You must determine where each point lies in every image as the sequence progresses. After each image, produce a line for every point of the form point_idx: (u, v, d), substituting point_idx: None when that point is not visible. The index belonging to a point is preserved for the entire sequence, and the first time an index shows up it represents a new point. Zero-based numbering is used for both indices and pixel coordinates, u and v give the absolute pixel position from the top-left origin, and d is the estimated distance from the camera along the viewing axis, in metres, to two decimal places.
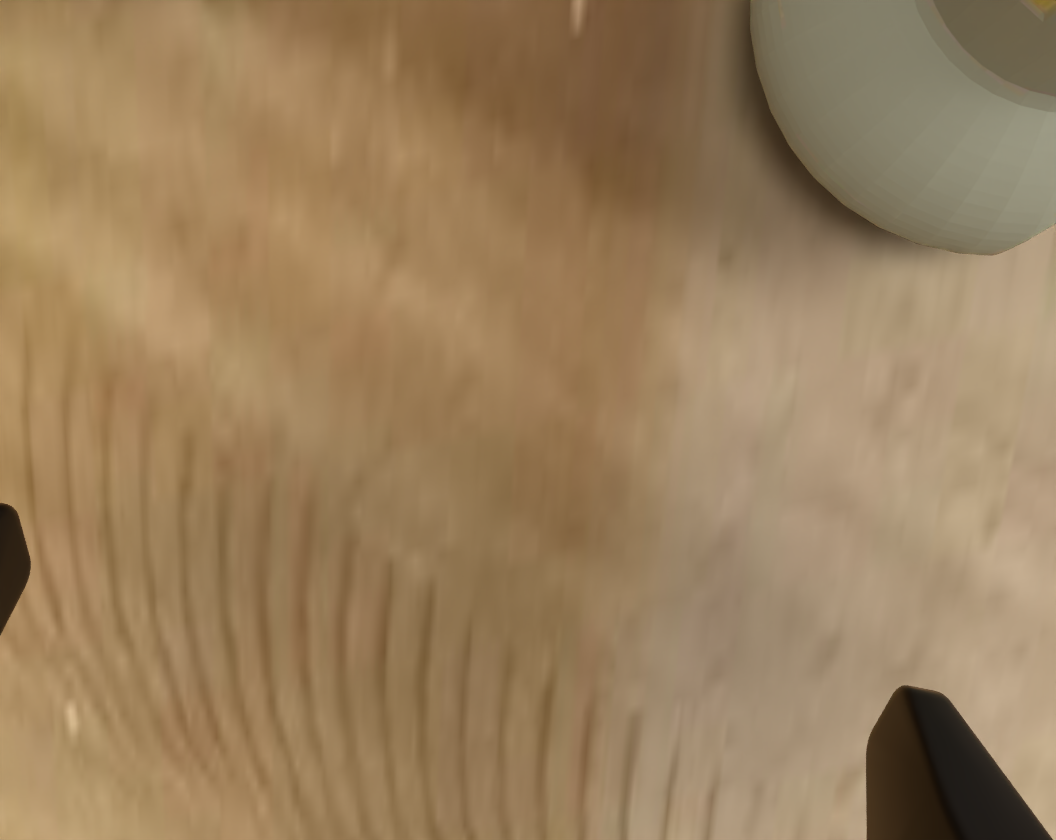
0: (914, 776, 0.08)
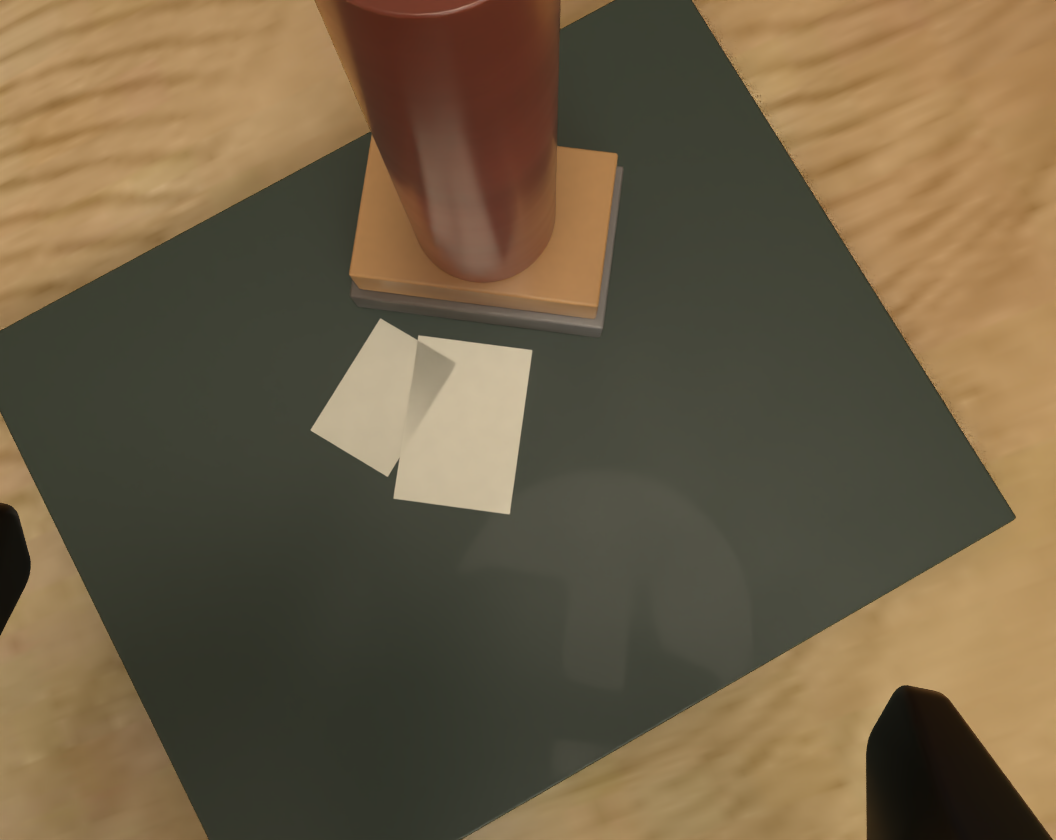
0: (913, 776, 0.08)
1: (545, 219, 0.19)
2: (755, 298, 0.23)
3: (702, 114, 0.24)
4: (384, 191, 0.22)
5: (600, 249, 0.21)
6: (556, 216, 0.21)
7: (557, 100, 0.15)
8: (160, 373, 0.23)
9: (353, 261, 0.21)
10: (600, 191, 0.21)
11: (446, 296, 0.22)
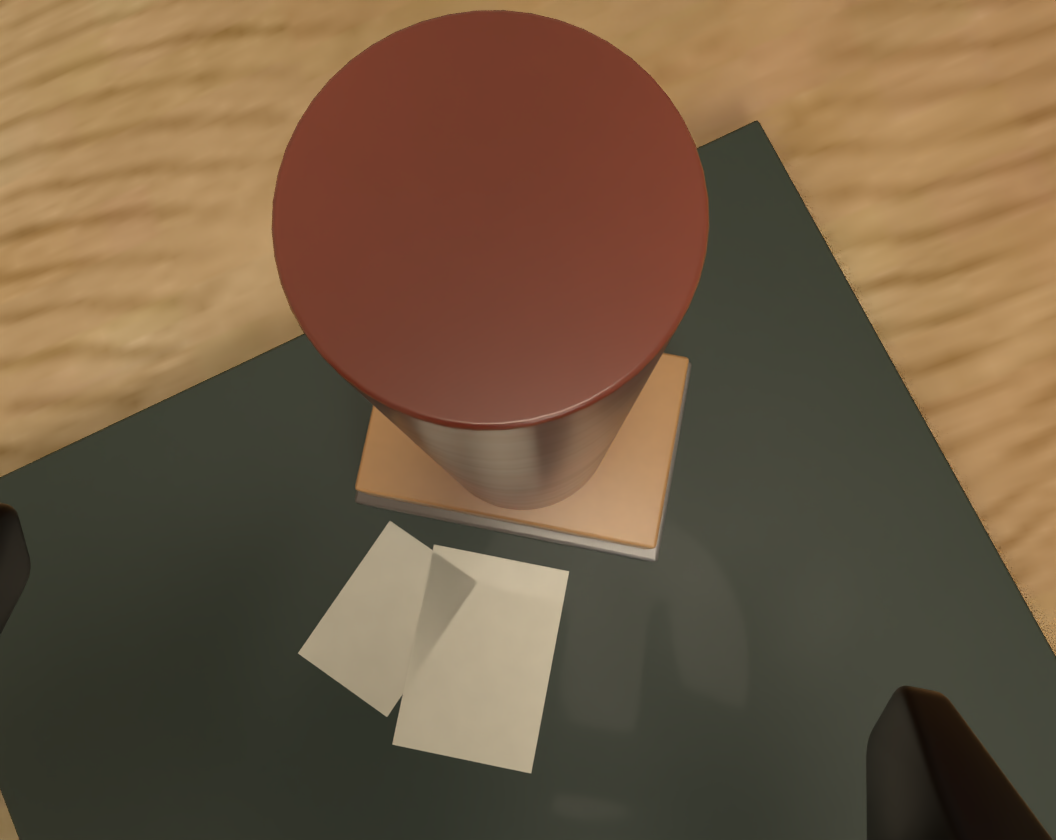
0: (914, 776, 0.08)
1: (601, 460, 0.16)
2: (839, 525, 0.19)
3: (785, 296, 0.20)
4: None
5: (662, 476, 0.17)
6: None
7: None
8: (123, 571, 0.20)
9: (361, 472, 0.18)
10: (665, 404, 0.18)
11: (471, 515, 0.18)
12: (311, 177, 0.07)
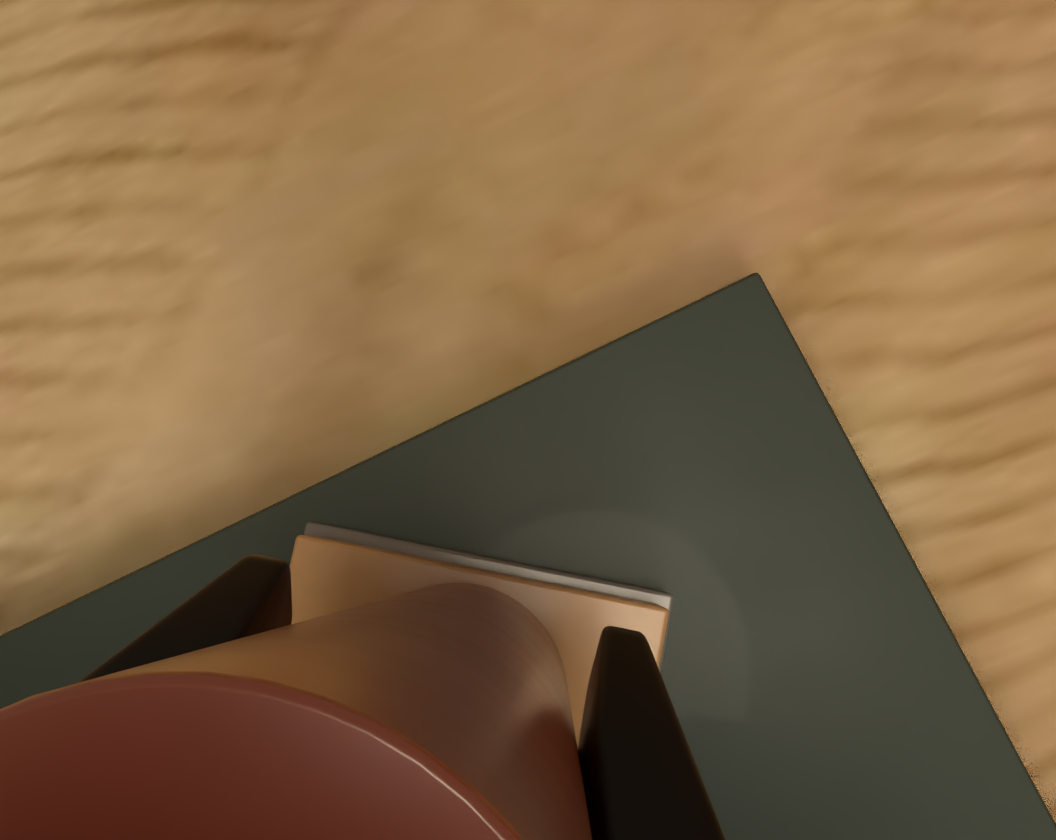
0: (591, 710, 0.09)
1: None
2: (858, 790, 0.16)
3: (791, 496, 0.16)
4: None
5: None
6: None
7: None
8: None
9: None
10: None
11: None
12: None
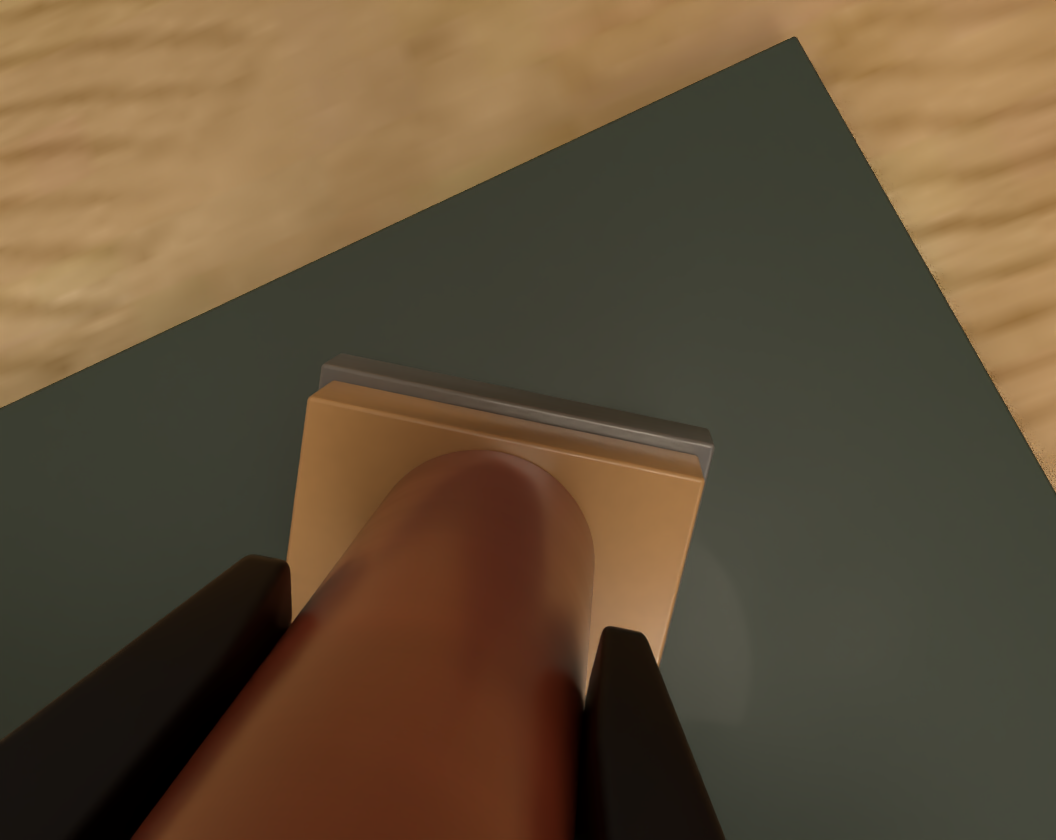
0: (592, 709, 0.09)
1: None
2: (895, 510, 0.16)
3: (829, 241, 0.17)
4: (326, 510, 0.14)
5: (660, 627, 0.14)
6: (595, 572, 0.13)
7: None
8: (45, 566, 0.16)
9: None
10: (669, 540, 0.13)
11: None
12: None
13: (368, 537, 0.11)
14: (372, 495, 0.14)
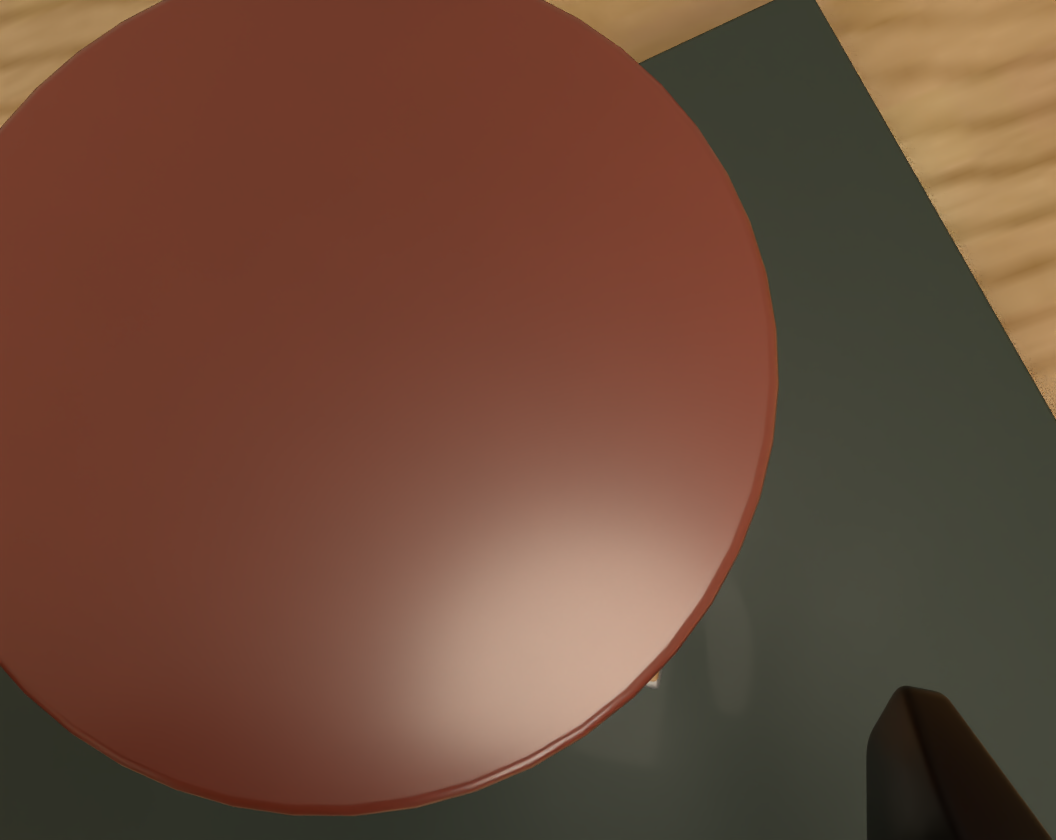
0: (914, 776, 0.08)
1: None
2: (906, 456, 0.16)
3: (840, 189, 0.17)
4: None
5: None
6: None
7: None
8: None
9: None
10: None
11: None
12: None
13: None
14: None
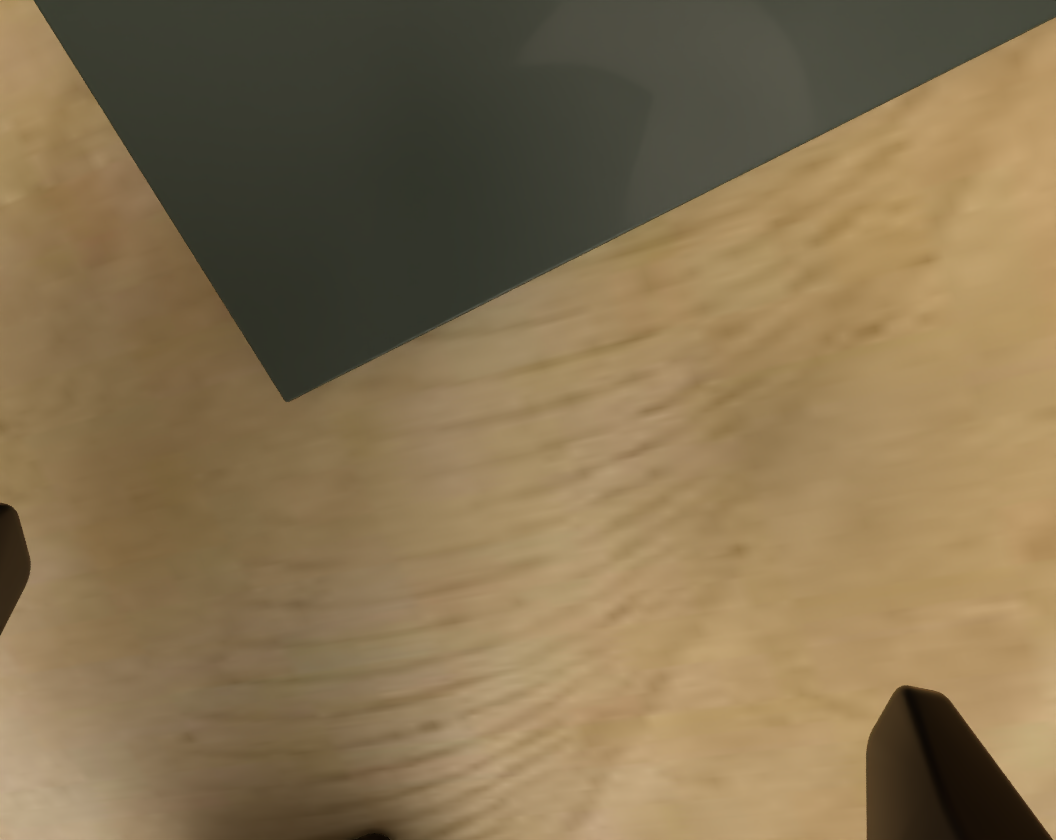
0: (914, 776, 0.08)
1: None
2: None
3: None
4: None
5: None
6: None
7: None
8: None
9: None
10: None
11: None
12: None
13: None
14: None
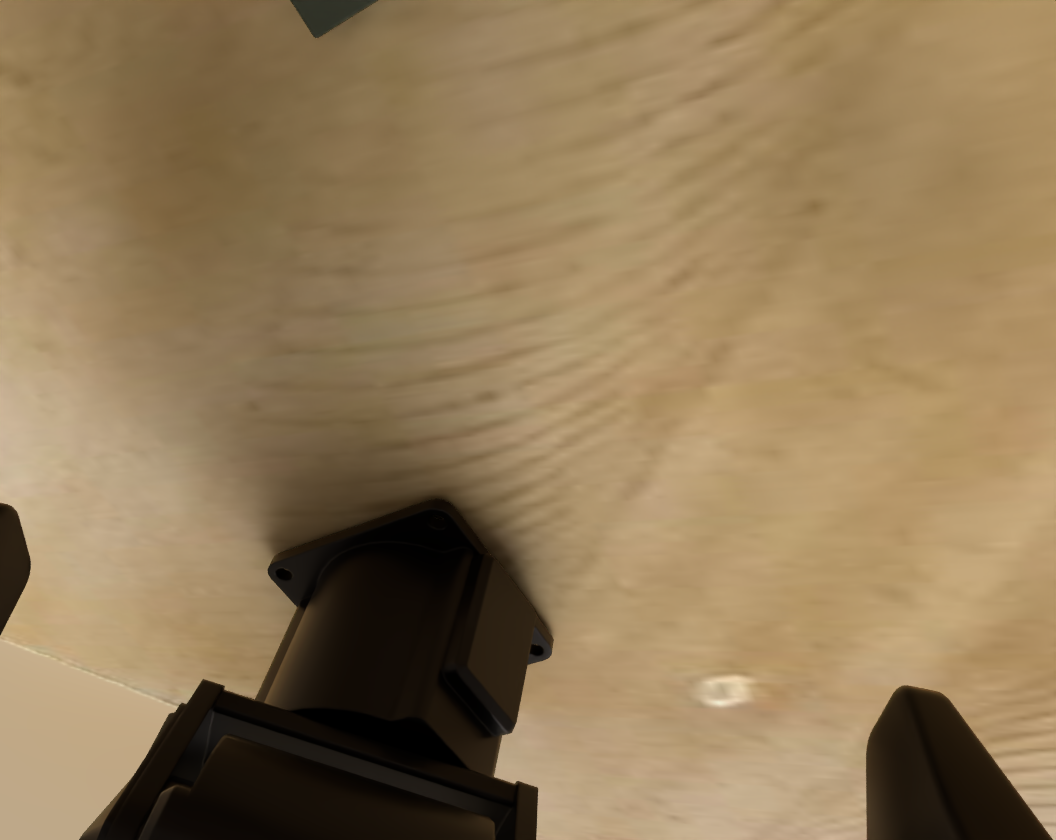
0: (914, 776, 0.08)
1: None
2: None
3: None
4: None
5: None
6: None
7: None
8: None
9: None
10: None
11: None
12: None
13: None
14: None
